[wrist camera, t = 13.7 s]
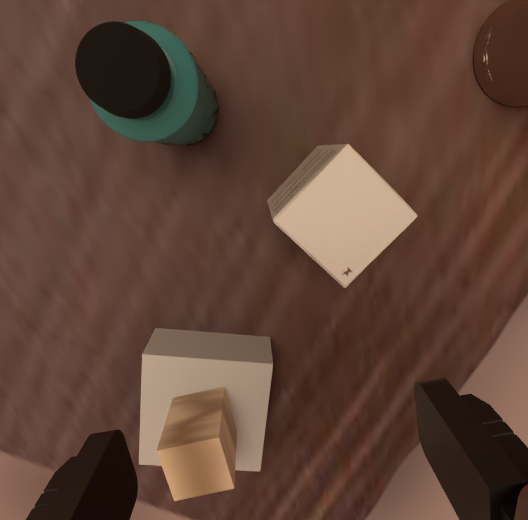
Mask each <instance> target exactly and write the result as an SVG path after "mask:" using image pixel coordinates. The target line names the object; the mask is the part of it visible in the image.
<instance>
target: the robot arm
mask: <svg viewBox="0 0 528 520" xmlns="http://www.w3.org/2000/svg"><path fill="white" fill-rule="evenodd" d="M473 61H474V70H475V74H476V77H477V80H478V83H479V84H480V86H481V88H482V89H483V91H484V92H485V93H486V94H487V95H488V96H489V97H490V98H491V99H493V100H495V101H496V102H498V103H500V104H503V105H507V106H516V107H520V106H527V105H528V0H509V1H507V2H506V3H504V4H503V5H501V6H500V7H498V8H497V9H496V10H495V11H494V12H493V13H492V14H491V15H490V16H489V18H488V19H487V20H486V22H485V23H484V25H483V26H482V28H481V31H480V33H479V35H478V37H477V41H476V44H475V48H474V60H473ZM415 400H416V411H417V422H418V432H419V437H420V441H421V445H422V448H423V451H424V453H425V456H426V458H427V460H428V462H429V463H430V465H431V467H432V469H433V471H434V473H435V475H436V476H437V478H438V480H439V482H440V484H441V486H442V488H443V490H444V492H445V493H446V495H447V497H448V499H449V500H450V503H451V504H452V506H453V508H454V510H455V512H456V514H457V516H458V518H459V520H528V448H527V446H526V445H525V444H524V443H523V442H522V441H521V440H520V438H519V437H517V435H514V433H513V431H512V430H511V429H510V427H509V426H508V425H507V424H506V423H505V422H503V420H502V418H501V417H500V416H499V415H498V414H497V412H495V410H493V408H492V407H491V406H490V405H489V404H487V403H486V402H484V401H482V400H480V399H479V398H477V397H475V396H474V395H472V394H467V395H461V396H459V394H458V393H457V392H456V390H455V389H454V388H453V387H452V385H451V384H450V383H449V382H448V381H447V379H445V378H439V379H433V380H427V381H421V382H416V383H415ZM137 491H138V483H137V476H136V472H135V469H134V466H133V463H132V459H131V456H130V453H129V450H128V447H127V444H126V441H125V437H124V435H123V433H122V432H121V431H120V430H113V431H107V432H101V433H95V434H91V435H90V436H89V437H88V438H87V440H86V441H85V443H84V445H83V447H82V448H81V450H80V452H79V453H78V455H77V456H75V457H71V458H70V459H69V460H68V461H67V462H66V463H65V464H64V465H63V466H62V467H60V468H59V469H58V470H57V471H56V472H55V473H54V475H53V477H52V478H51V480H50V481H49V483H48V485H47V486H46V488H45V489H44V494H41V496H40V498H39V499H38V501H37V503H36V504H35V508H34V509H32V510H31V512H30V514H29V515H28V517H27V519H26V520H129V519H130V517H131V514H132V510H133V508H134V505H135V502H136V498H137Z"/></svg>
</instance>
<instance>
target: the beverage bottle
mask: <svg viewBox="0 0 528 520" xmlns="http://www.w3.org/2000/svg"><path fill="white" fill-rule="evenodd" d="M191 55H192V54H191V53H189V51H188V49H187V47H186V46H185V45H184V44H183V43H182V42H181V40H180V39H179V38H177V37H176V36H175V35H174V34H173V33H171V32H170V31H169V30H167V29H165V28H164V27H162V26H159V25H157V24H154V23H150V22H146V21H129V22H124V23H123V22H106V23H102V24H100V25H97V26H95V27H94V28H92V29H91V30H90V31H89V32H88V33H86V35H85V36H84V37H83V38H82V40H81V42H80V44H79V46H78V49H77V53H76V59H75V67H76V74H77V77H78V80H79V83H80V85H81V87H82V89H83V90H84V92H85V93H86V95H87V96H88V97H89V99H90V102H91V104H92V106H93V108H94V110H95V111H96V113H97V115H98V116H99V117H100V118H101V120H102V121H103V122H104V123H105V124H106V125H107V126H108V127H109V128H111V129H112V130H113V131H115V132H116V133H118V134H119V135H121V136H124V137H126V138H129V139H131V140H136V141H143V142H153V141H158V144H159V142H162V143H173V144H186V145H192V144H191V143H195V142H198V141H199V140H201V139H202V138H204V137H206V136H207V135H209V134H210V130H212V128H213V125H214V124H215V125H216V123H215V122H216V121H215V120H216V115H217V114H218V113H219V112H218V108H217V103H218V102H216V99H217V98H216V95H215V91H214V92H213V90H212V87H211V86H212V85H211V86H210V85H209V83H208V82H207V80H206V79H205V77H204V76H206V74H203V73H204V72H203V73H202V72H201V70H200V69H199V67H200V66H199V65H198V66H199V67H198V66H197V65H196V63H195V61H194V60H193V58H192V56H191ZM193 57H194V56H193ZM194 58H195V57H194ZM195 59H196V58H195ZM197 64H198V62H197ZM203 75H204V76H203ZM208 80H209V79H208ZM213 89H214V88H213ZM217 119H218V118H217ZM215 125H214V126H215ZM208 133H209V134H208ZM167 145H168V144H167ZM169 145H170V146H171V144H169Z"/></svg>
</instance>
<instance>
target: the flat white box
mask: <svg viewBox="0 0 528 520" xmlns="http://www.w3.org/2000/svg"><path fill="white" fill-rule="evenodd" d="M272 369H273V358H272V350H271V341H270V337H263V336H251V335H238V334H225V333H213V332H200V331H187V330H175V329H162V328H155V330H154V332H153V334H152V336H151V338H150V340H149V342H148V344H147V346H146V348H145V350H144V352H143V354H142V378H141V411H140V443H139V464H142V465H159V466H162V465H161V462H160V459H159V456H158V454H157V448H158V444H159V441H160V438H161V434H162V431H163V428H164V425H165V421H166V418H167V415H168V412H169V408H170V405H171V402H172V399H173V398H175V397H179V396H184V395H188V394H193V393H198V392H202V391H207V390H211V389H216V388H220V387H225V391H226V394H227V397H228V401H229V404H230V408H231V411H232V415H233V418H234V422H235V425H236V429H237V444H236V465H235V470H244V471H260V469H261V460H262V452H263V444H264V435H265V427H266V419H267V411H268V402H269V394H270V386H271V378H272Z"/></svg>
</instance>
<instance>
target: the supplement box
mask: <svg viewBox="0 0 528 520" xmlns="http://www.w3.org/2000/svg"><path fill="white" fill-rule="evenodd" d="M267 203H268V206H269V209H270V213H271V216H272V219H273V222H274V223H275V224H276V225H277V226H278V227H279V228H280V229H281V230H282V231H283V232H284V233H285V234H287V235H288V236H289V237H290V238H291V239H292V240H293V241H294V242H295V243H296V244H297V245H298V246H299V247H301V248H302V249H303V250H304V251H305V252H306V253H307V254H308V255H309V256H310V257H311V258H312V259H313V260H314V261H316V262H317V263H318V264H319V265H320V266H321V267H322V268H323V269H324V270H325V271H327V272H328V273H329V274H330V275H331V276H332V277H333V278H334V279H335V280H336V281H337V282H338V283H339V284H340V285H341V286H342V287H344V288H346V287H347V286H348V285H349V284H350V283H351V282H352V281H353V280H354V279H355V278H356V277H357V276H358V275H359V274H360V273H361V272H362V271H363V270H364V269H365V268H366V267H367V266H368V265H369V264H370V263H371V262H372V261H373V260H374V259H375V258H376V257H377V256H378V255H379V254H380V253H381V252H382V251H383V250H384V249H385V248H386V247H387V246H388V245H389V244H390V243H391V242H392V241H393V240H394V239H395V238H396V237H397V236H398V235H399V234H400V233H401V232H403V230H404V229H406V228H407V227H408V226H409V225H410V224H411V223H412V222H413V221H414V220H415V218H416V217H417V214H416V213H415V212H414V211H413V209H412V208H411V207H410V206H409V205H408V204H407V203H406V202H405V201H404V200H403V199H402V198H401V197H400V196H399V195H398V194H397V193H396V192H395V190H394V189H393V188H392V187H391V186H390V185H389V184H388V183H387V182H386V181H385V180H384V179H383V178H382V177H381V176H380V175H379V174H378V173H377V172H376V171H375V170H374V169H373V168H372V167H371V166H370V165H369V164H368V163H367V162H366V161H365V160H364V159H363V158H362V157H361V156H360V155H359V154H358V153H357V152H356V151H355V150H354V149H353V148H352V147H351V146H350V145H349V144H337V145H319V146H317V147H316V148H315V149H314V150H313V151H312V152H311V153H310V154H309V156H308V157H307V158H306V159H305V160H304V161H303V162H302V163H301V164H300V165H299V166H298V167H297V169H296V170H295V171H294V172H293V173H292V174H291V175H290V176H289V177H288V178H287V179H286V180H285V181H284V183H283V184H282V185H281V186H280V187H279V188H278V189H277V190H276V191H275V192H274V193H273V194H272V196H271V197H270V198H269V199H268V200H267Z"/></svg>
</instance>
